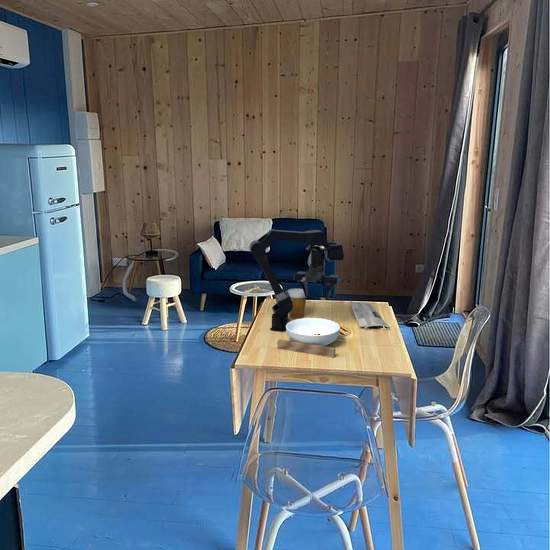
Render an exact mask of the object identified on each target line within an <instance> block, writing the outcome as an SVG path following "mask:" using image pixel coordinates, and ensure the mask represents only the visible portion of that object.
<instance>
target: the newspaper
mask: <svg viewBox="0 0 550 550" xmlns="http://www.w3.org/2000/svg"><path fill="white" fill-rule="evenodd" d="M349 303H350V307H351V308H352V312H353V315H354V316H355V319H356V322H357V323H358V325H359V327H362V328H364V329H365V330H366V331H369V330H370V328H369V327H377V328H378V330H380V331H381V328H383V326H384V327H385V328H386V329H388V330H389V331H391V329H390V327H389V325H388V324H387V323H386V322H385V320H384V319H383V318H382V317H381V315H380V314H379V313H378V312H377V310H376V308H374V306H373V305H372V304H371V303H369V302H363V301H360V302H355V301H351V300H349ZM388 330H387V331H388Z"/></svg>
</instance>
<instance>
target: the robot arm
mask: <svg viewBox="0 0 550 550" xmlns="http://www.w3.org/2000/svg"><path fill="white" fill-rule="evenodd" d="M327 239H328V238H327V235H326V233H324V231H321V230H319V229H312V230H305V231H296V230H295V231H294V230H281V229H275V228H274V229H273V228H272V229H270V230H268V231H267V232H266V233H265V234H263V235H262V236H260V237H259V238H258V239H255V240H253V241H251V243H250V244H249V246H248V247H249V251H250V253H251V254H252V257H254V259H255V260H256V262H257V263H258V264H259V266H260V267H261V269H262V271H263V273H264V275H265V277H266V279H267V280H268V283H269V285H270V287H271V289H272V291H273V294H274V298H275V301H276V303H275V304H274V305H273V306H272V307H271V310H272V314H271V327H270V328H269V330H271V331H276V332H283V333H285V332H287V331H286V325H287V323H289V322H290V317H289V312H290V311H291V310H292V309H293V304H292V303H293V300H292V299H291V297H290V294H289V293H288V290H285V291H284V289H283V288H282V286H281V284H280V282H279V280H278V278H277V275H276V274H275V272H274V270H273V268H272V265H271V263H270V262H269V259H268V254H267V251H266V250H268V248H270V247H271V245H272V244H273V243H274V242H275V241H284V242H285V241H286V242H301V243H306V244H308V246H307V247H306V248H305V250H306V251H308V252H310V264H309V266H308V270H307V271H297V272H296V273H295V272H294V275H293V281H296V282H297V283H299V284H300V286H301V287H302V288H301V289H303V291H304V294H305V297H306V298H307V297H308V295H309V294H308V290H309V289H308V288H309V287H308V285H309V283H312V284H313V283H314V284H316V283H318V281H321V282H323V281H324V282H327V284H326V295H325V297H326V298H325V299H326V300H329V297H330V295H331V293H332V290H333V288H334V287H335V286H337V285H338V284H340V283H341V282H342V281H341V280H342V279H341V278H342V277H341V276H340V275H337V274H330V275H329V276H327V275H326V272H325V266H326V262H325V259H327V261H328V262H343V261H344V258H345V257H344V256H345V254H344V249H343V244H341V243H339V244H338V243H337V244H330V243H329V242H328V240H327ZM325 275H326V276H325ZM307 294H308V295H307Z"/></svg>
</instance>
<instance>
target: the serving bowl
mask: <svg viewBox="0 0 550 550" xmlns="http://www.w3.org/2000/svg"><path fill="white" fill-rule="evenodd" d="M340 331H341V325H340V324H339V323H338V322H335V321H333V320H330V319H326V318H320V317H303V318H300V319H293V320H291V321H290V320H289V323H287V325H286V331H285V332H286V333H287V336H288V338H290V341H294V342H300V343H307V344H313V345H319V346H325V347H326V346H328V345H329V344H332V343H334V342H335V341H336V340H337V338H338V336H339V335H340ZM314 334H320V335H314Z"/></svg>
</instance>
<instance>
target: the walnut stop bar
mask: <svg viewBox="0 0 550 550" xmlns="http://www.w3.org/2000/svg"><path fill="white" fill-rule="evenodd" d="M277 349H278V350H279V349H280V350H285V351H291V352H298V353H301V354H309V355H314V356H320V355H321V357H327V358H332V359H333V358H335V357H336V347H332V346H326V345H325V346H319V345H313V344H307V343H300V342H294V341H292V340H287V339H278V340H277Z"/></svg>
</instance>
